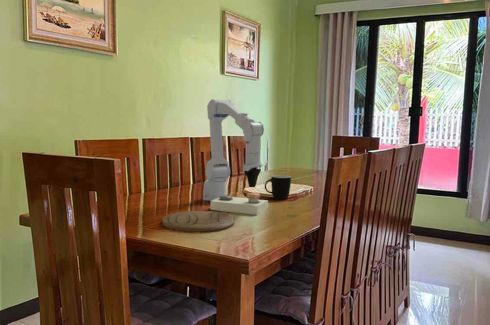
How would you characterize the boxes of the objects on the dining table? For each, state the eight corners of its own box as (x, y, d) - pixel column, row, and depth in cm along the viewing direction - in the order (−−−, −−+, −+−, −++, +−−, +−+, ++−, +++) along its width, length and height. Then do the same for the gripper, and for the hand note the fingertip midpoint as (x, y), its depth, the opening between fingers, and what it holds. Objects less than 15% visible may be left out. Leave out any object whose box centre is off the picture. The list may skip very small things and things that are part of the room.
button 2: (244, 203, 174) (245, 194, 174) (249, 200, 179) (249, 192, 179) (257, 204, 172) (257, 195, 172) (261, 202, 177) (262, 193, 177)
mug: (290, 196, 208) (290, 175, 207) (290, 200, 200) (291, 178, 198) (264, 195, 209) (265, 174, 208) (263, 199, 200) (264, 177, 199)
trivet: (229, 215, 169) (229, 210, 169) (239, 232, 145) (239, 226, 144) (162, 216, 165) (162, 211, 165) (161, 234, 140) (161, 228, 140)
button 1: (217, 205, 179) (217, 196, 178) (222, 203, 184) (222, 194, 183) (229, 206, 177) (229, 198, 176) (234, 204, 182) (234, 195, 181)
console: (210, 209, 176) (210, 201, 176) (223, 204, 187) (223, 196, 187) (257, 214, 169) (257, 205, 169) (267, 209, 180) (267, 200, 180)
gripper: (255, 154, 165) (255, 190, 167) (268, 152, 179) (267, 185, 180) (238, 153, 168) (237, 189, 170) (252, 151, 181) (251, 184, 183)
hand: (252, 187), depth 175 cm, fingers closed
